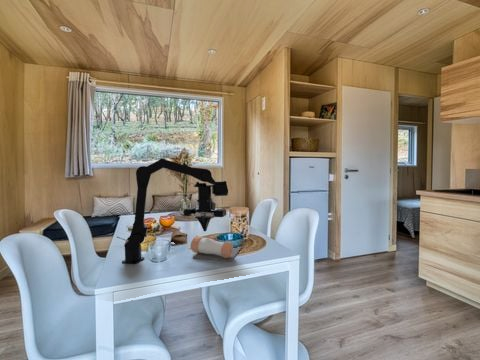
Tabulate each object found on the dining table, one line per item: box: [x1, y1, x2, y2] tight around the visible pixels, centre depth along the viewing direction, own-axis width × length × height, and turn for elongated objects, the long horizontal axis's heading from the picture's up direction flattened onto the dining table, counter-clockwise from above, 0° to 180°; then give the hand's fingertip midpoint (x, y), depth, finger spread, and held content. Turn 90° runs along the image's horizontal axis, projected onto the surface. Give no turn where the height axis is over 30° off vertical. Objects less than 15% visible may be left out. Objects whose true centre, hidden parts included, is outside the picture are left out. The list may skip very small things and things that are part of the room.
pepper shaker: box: [190, 235, 234, 258], centre depth 113 cm, size 7×7×19 cm
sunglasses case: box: [170, 229, 188, 245], centre depth 139 cm, size 18×7×7 cm
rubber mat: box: [193, 246, 243, 262], centre depth 118 cm, size 18×17×1 cm
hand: (205, 231), depth 117 cm, fingers closed
